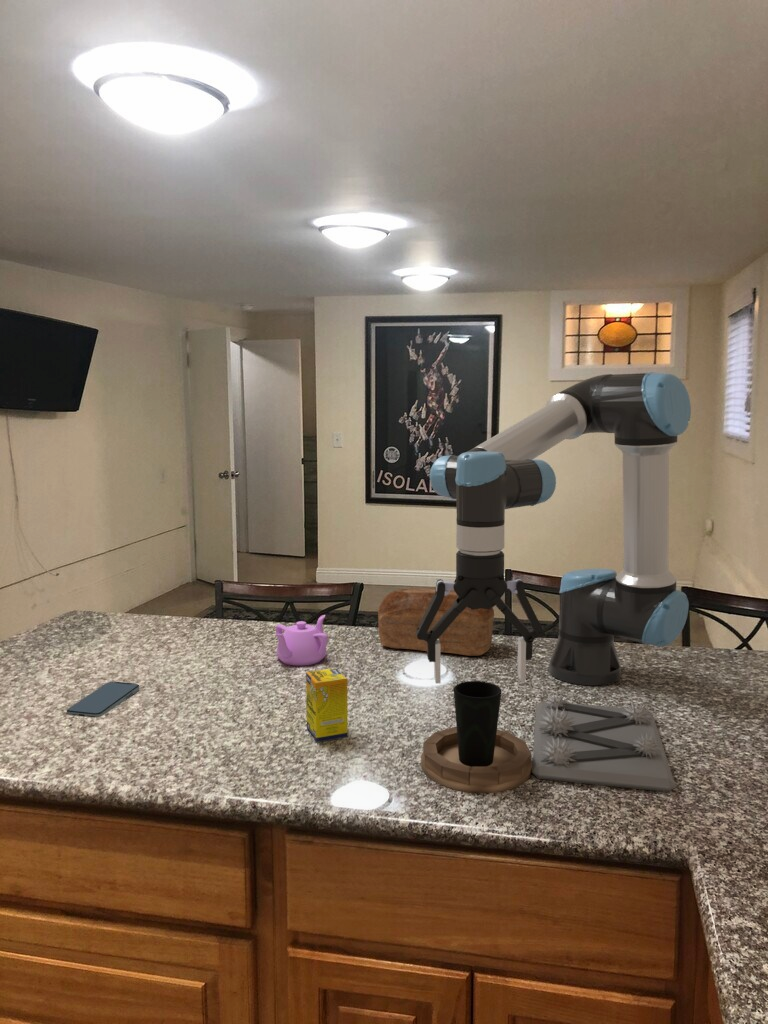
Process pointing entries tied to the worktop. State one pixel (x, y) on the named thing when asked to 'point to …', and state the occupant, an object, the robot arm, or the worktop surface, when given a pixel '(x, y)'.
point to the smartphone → (103, 699)
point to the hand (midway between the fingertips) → (479, 679)
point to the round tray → (499, 776)
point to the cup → (476, 721)
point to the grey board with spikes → (599, 746)
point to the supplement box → (326, 704)
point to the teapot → (301, 643)
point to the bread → (433, 623)
